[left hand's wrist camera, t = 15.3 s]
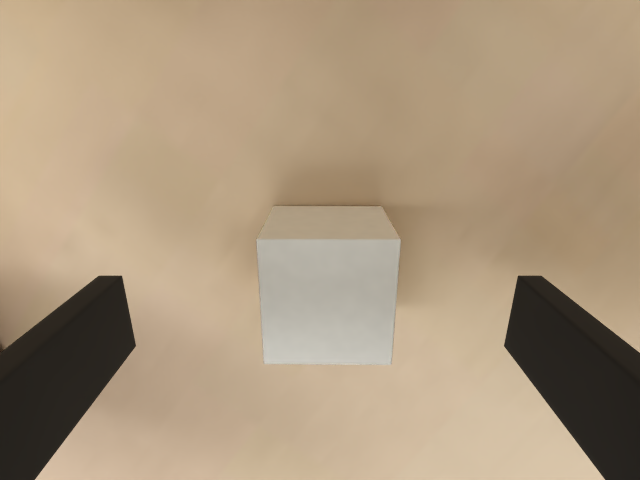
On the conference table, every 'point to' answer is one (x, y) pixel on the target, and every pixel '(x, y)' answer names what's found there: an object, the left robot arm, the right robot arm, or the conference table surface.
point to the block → (328, 285)
